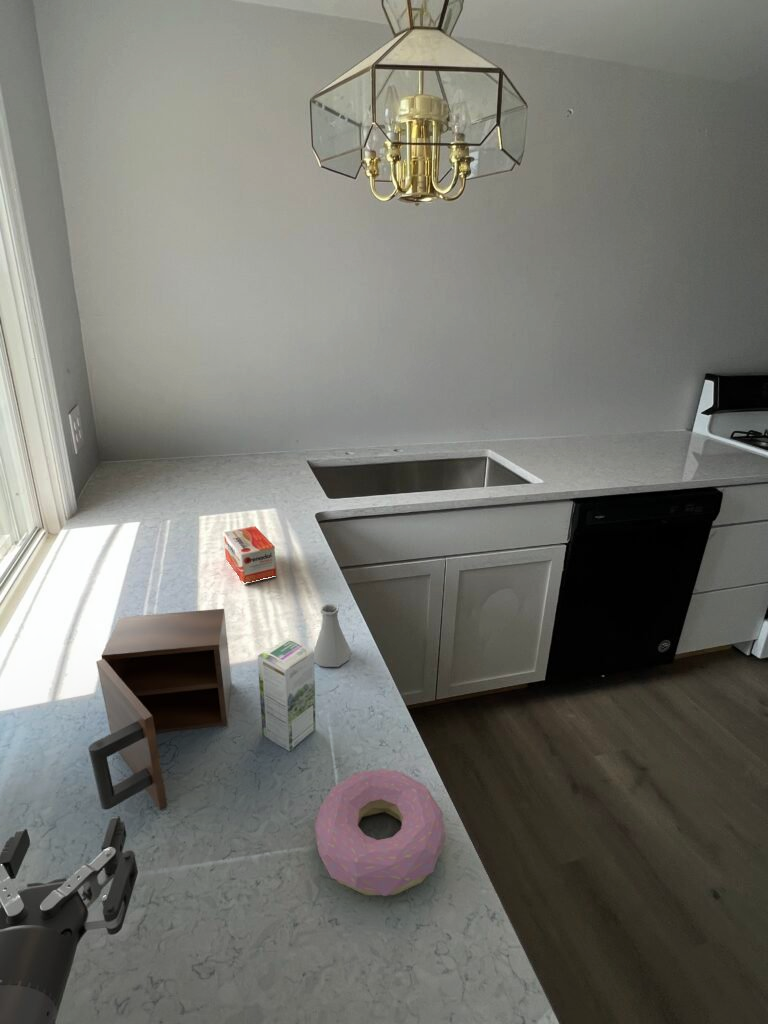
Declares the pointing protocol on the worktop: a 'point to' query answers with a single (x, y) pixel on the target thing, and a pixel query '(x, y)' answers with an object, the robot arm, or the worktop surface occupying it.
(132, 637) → the cabinet
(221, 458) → the worktop surface
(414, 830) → the donut
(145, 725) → the door
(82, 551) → the worktop surface
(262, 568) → the medicine box
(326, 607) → the flask
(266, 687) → the syrup box
